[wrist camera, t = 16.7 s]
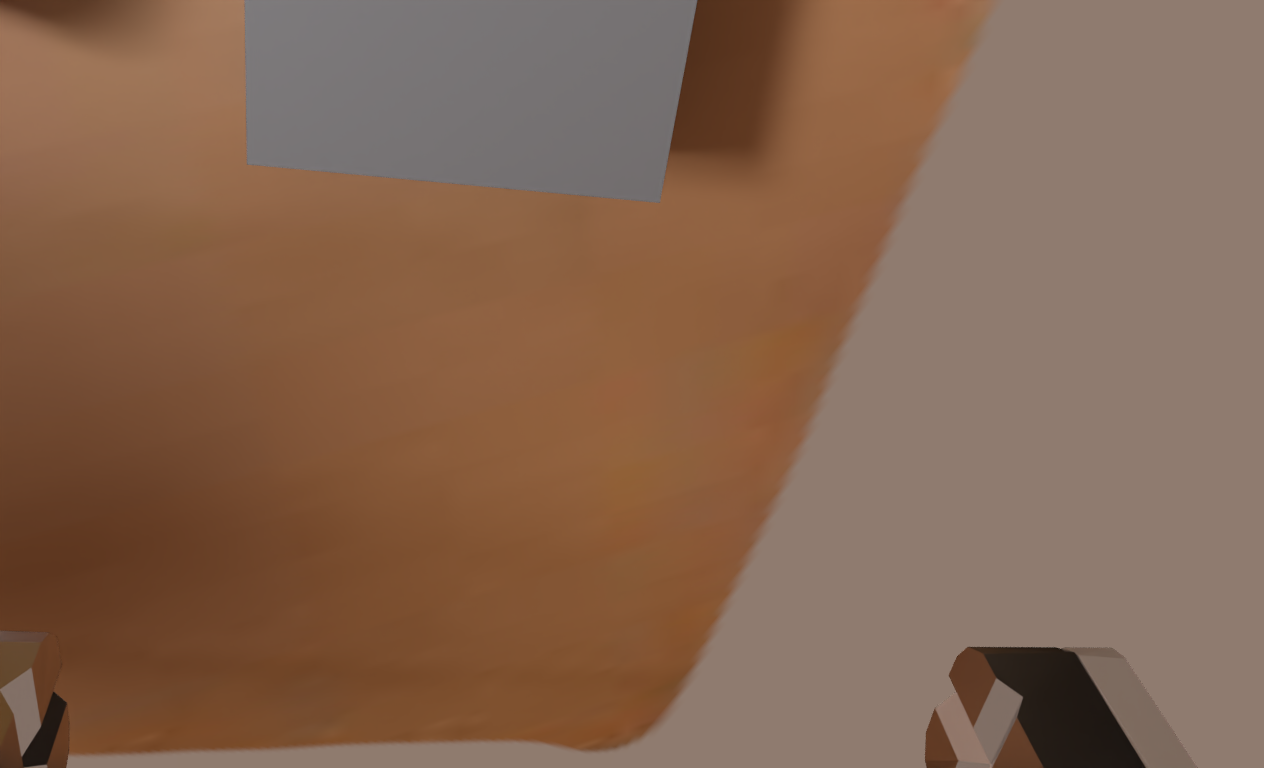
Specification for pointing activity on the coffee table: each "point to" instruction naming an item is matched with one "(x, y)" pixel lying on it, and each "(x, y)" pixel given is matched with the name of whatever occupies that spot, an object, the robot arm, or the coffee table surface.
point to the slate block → (470, 90)
